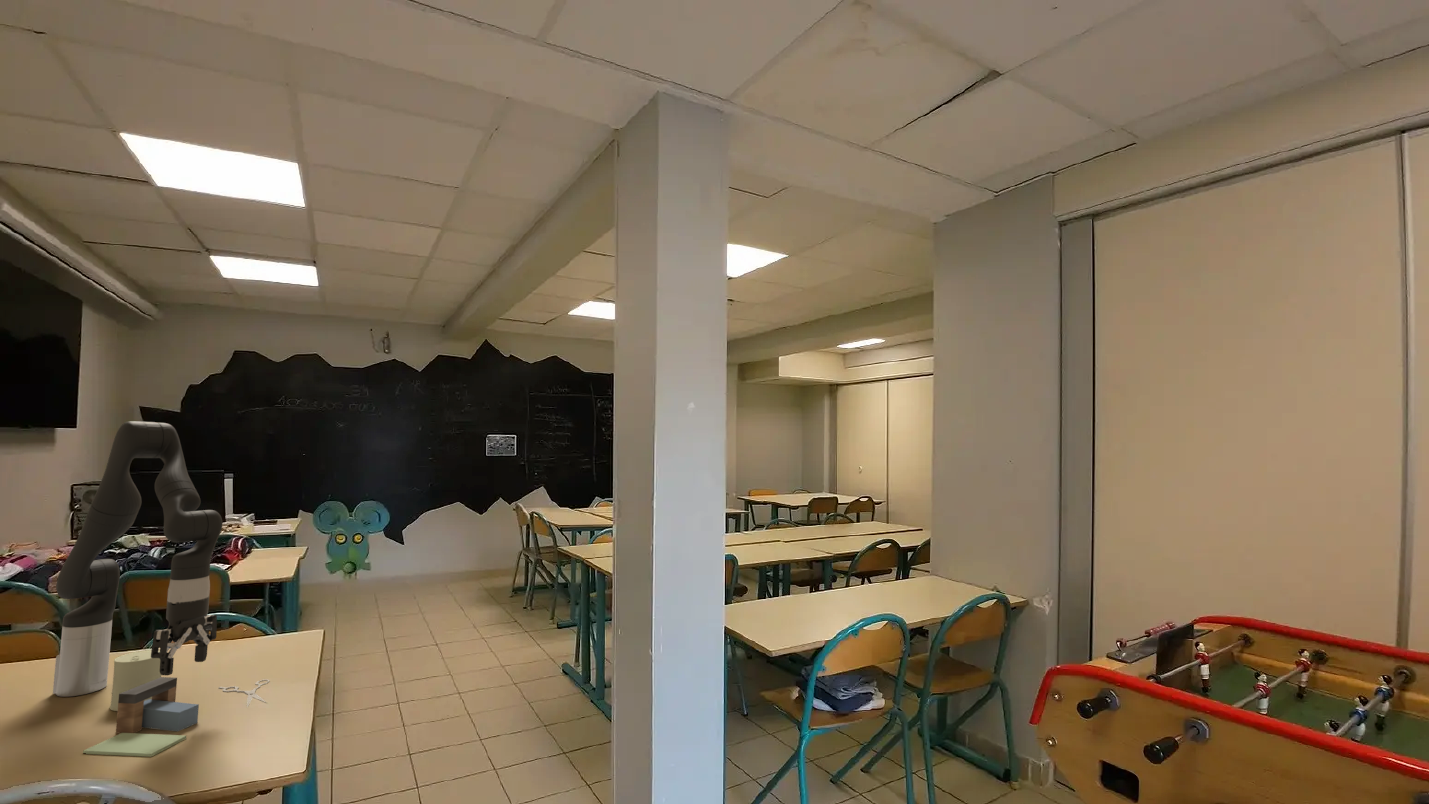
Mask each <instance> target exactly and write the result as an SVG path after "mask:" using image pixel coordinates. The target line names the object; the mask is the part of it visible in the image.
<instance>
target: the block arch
mask: <svg viewBox="0 0 1429 804" xmlns="http://www.w3.org/2000/svg"><path fill="white" fill-rule="evenodd" d="M177 683H178V677H168V676H166V677H165V676H161V677H160V678H158V679H155V680H153V681H150V682H148V683H145V684H143V685H140V686H138V687H135V688H133V689H130V690H128V691H125V692H122V693H120V694H119V700H118V711H116V712H117V715H116V724H115V725H116V726H115V733H116V734H120V733H137V732H140V731H141V730H142V729H143V727H142V717H143V705H144V700H145V699H148V698H150V697H152V700H161V701H170V702H176V696H177V686H178V685H177Z"/></svg>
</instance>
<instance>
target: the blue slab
mask: <svg viewBox="0 0 1429 804" xmlns="http://www.w3.org/2000/svg"><path fill="white" fill-rule="evenodd" d="M199 705H200V704H196V703H189V702H188V703H187V702H181V701H180V702H179V701H175V702H170V701H161V700H152V699H148V700H146V701H144V705H143V717H142V729H143V728H146V729H153V730H161V731H169V732H170V731H171V732H180V731H182V730H184V729H187V728H189V727H191V726H193V725H196V724H198V718H199Z"/></svg>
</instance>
